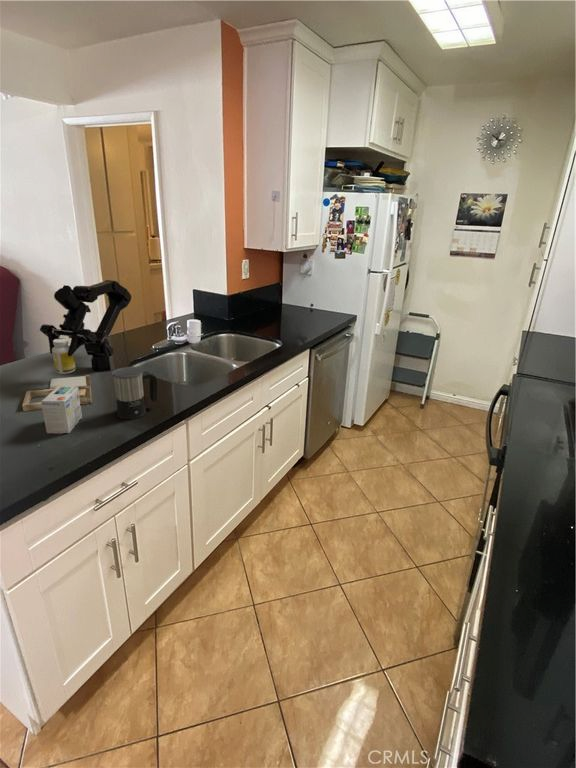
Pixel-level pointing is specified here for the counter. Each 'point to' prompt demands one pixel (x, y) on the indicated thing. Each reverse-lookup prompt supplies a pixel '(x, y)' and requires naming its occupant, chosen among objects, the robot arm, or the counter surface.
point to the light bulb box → (61, 409)
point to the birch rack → (46, 392)
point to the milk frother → (133, 391)
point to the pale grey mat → (68, 382)
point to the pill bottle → (62, 356)
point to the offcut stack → (82, 393)
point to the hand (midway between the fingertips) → (60, 354)
